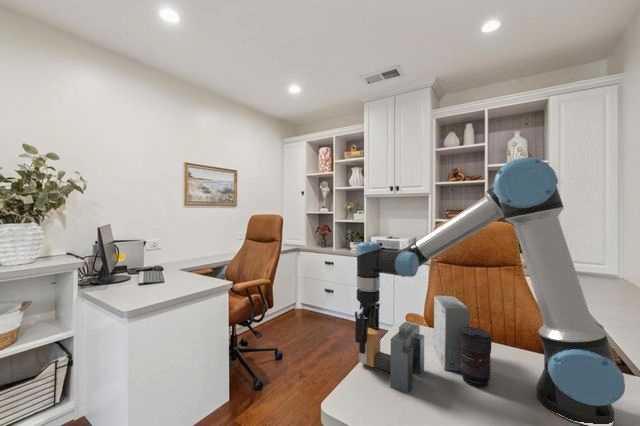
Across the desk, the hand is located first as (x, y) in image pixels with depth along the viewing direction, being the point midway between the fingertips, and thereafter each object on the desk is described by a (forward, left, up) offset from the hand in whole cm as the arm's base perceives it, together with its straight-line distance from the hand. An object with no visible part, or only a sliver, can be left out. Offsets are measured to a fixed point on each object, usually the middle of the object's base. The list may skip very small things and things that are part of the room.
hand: (367, 358), depth 94 cm
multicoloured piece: (-6, 0, -1) cm, 6 cm away
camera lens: (-30, -11, -2) cm, 32 cm away
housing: (-14, 0, -2) cm, 14 cm away
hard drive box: (-21, -20, -2) cm, 29 cm away
